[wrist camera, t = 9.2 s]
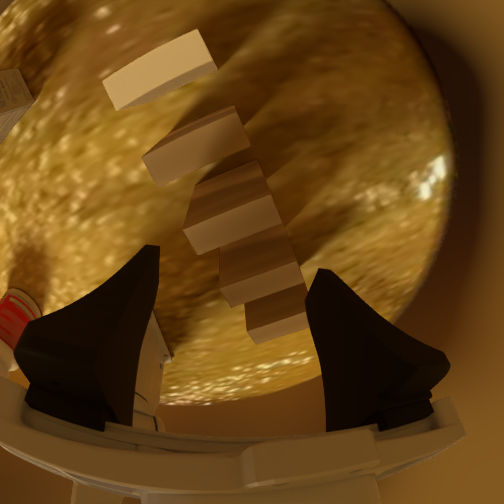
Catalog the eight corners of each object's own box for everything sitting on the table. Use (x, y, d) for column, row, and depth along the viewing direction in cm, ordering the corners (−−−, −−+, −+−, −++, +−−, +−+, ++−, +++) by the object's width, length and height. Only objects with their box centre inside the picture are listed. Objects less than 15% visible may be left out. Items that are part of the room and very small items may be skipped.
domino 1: (243, 126, 18) (251, 146, 12) (179, 154, 19) (158, 187, 13) (233, 103, 17) (236, 112, 11) (168, 133, 18) (141, 157, 12)
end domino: (218, 70, 16) (212, 60, 10) (152, 101, 16) (116, 110, 11) (207, 48, 15) (197, 28, 9) (142, 81, 15) (101, 81, 10)
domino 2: (265, 179, 21) (282, 223, 15) (205, 204, 21) (198, 255, 16) (257, 159, 20) (270, 194, 14) (195, 184, 20) (182, 230, 15)
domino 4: (299, 267, 26) (319, 323, 20) (249, 285, 26) (255, 344, 20) (293, 252, 25) (313, 308, 19) (241, 271, 25) (246, 331, 19)
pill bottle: (8, 278, 23) (-34, 345, 14) (45, 304, 26) (9, 378, 17) (6, 305, 26) (-27, 366, 17) (39, 328, 28) (11, 394, 19)
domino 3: (284, 227, 23) (304, 281, 17) (229, 248, 24) (231, 307, 18) (277, 209, 22) (296, 260, 16) (220, 232, 23) (219, 288, 17)
